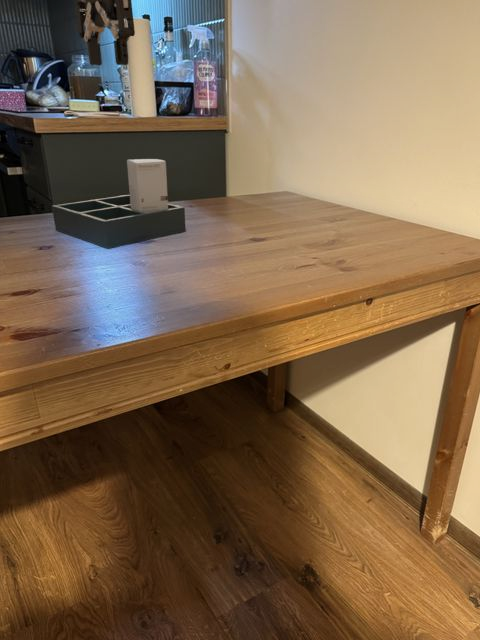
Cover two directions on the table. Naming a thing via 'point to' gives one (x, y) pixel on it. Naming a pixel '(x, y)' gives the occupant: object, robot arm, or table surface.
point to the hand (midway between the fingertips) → (108, 65)
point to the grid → (116, 221)
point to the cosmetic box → (147, 185)
